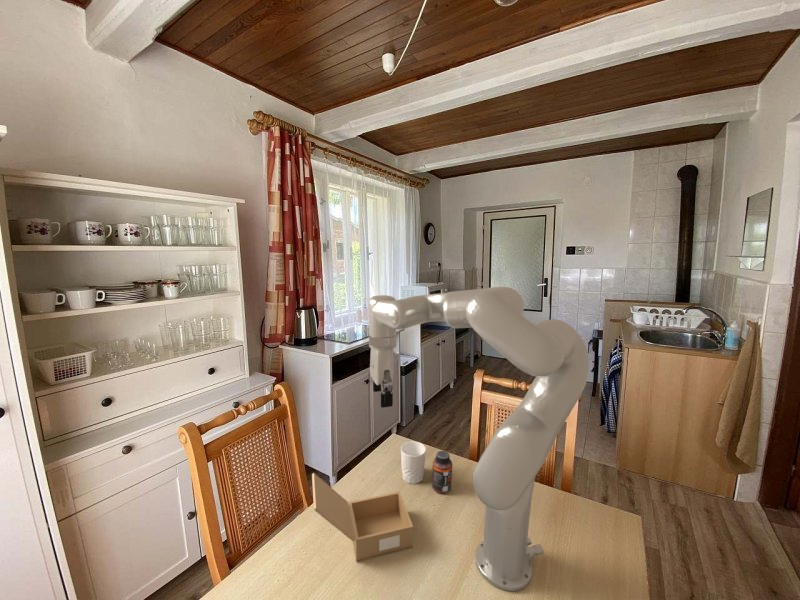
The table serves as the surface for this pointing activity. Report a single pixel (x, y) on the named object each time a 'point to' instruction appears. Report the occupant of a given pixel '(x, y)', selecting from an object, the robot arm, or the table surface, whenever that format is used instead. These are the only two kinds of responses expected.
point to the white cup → (413, 461)
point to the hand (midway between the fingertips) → (382, 398)
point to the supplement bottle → (442, 472)
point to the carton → (380, 526)
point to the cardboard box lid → (332, 507)
